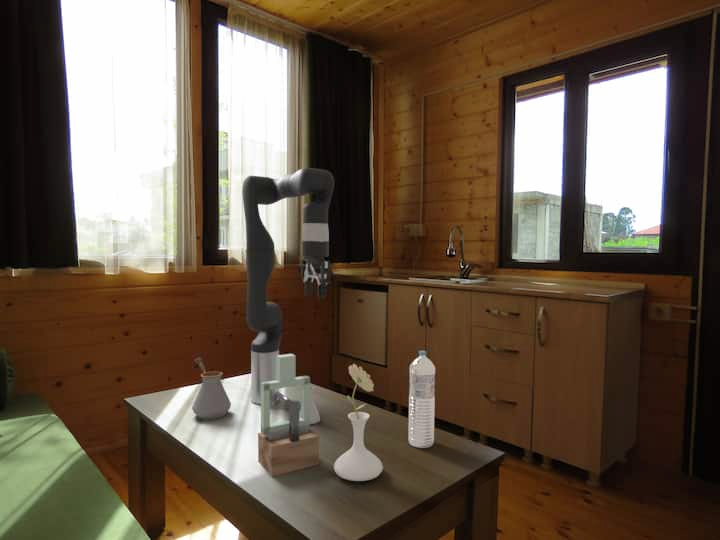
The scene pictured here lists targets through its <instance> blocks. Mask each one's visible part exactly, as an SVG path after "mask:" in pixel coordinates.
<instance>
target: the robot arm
mask: <svg viewBox="0 0 720 540" xmlns="http://www.w3.org/2000/svg"><path fill="white" fill-rule="evenodd" d="M334 188H335V178H334V176H333V174H332V173H331V172H330V171H329V170H328V169H321V168H315V167H314V168H312V167H303V168H300V169H298V170H297V171H296V172H293V173H289V174H285V175H283V176H282V177H280V179H277V178H273V177H272V178H271V177H269V176H260V175H247V176H246V177H245V178H244V179H243V181H242V191H241V193H242V202H243V204H242V205H243V210H244V211H243V212H244V219H245V232H246V234H245V235H246V236H245V237H246V247H245V248H246V268H247V270H246V271H247V276H246V277H247V295H246V308H245V310H246V311H245V312H246V313H245V318H246V324H247V325H248V328H249V329H250V330H251V331H253V332H256V333H258V334H257V336H256V337H255V338H254V339H253V340H252V342H251V343H250V345H251V346H250V357H251V358H250V363H251V364H250V365H251V367H250V369H251V371H250V375H251V377H250V378H251V381H250V382H251V384H250V385H251V387H250V389H251V391H250V394H251V395H250V397H251V398H250V399H251V400H250V401H251V402H252V403H253V404H257V405H261V382H267V381H274V380H276V355H280V345H281V344H280V343H281V341H282V338H283V337H282V336H283V335H282V333H283V313H282V309H281V308H280V305H279V304H277V303H276V302H273V301H267V293H268V292H267V290H268V286H269V282H270V281H271V280H270V279H271V277H272V274H273V271H274V269H275V264H276V255H275V254H276V251H275V250H276V249H275V242H274V239H273V238H272V236H271V234H270V233H269V231H268V230H267V228H266V226H265V225H264V223H263V221H262V219H261V216H260V209H259V205H263V206H264V205H265V206H266V205H267V206H268V205H269V206H270V205H272V204H275V203H277V202H279V201H281V200H285V199H290V198H296V197H297V198H298V197H302V196H306V195H308V194H310V195H311V194H313V195H316V198H315V199H314V201H309V202H306V203H305V204H304V205H303V209H302V219H303V220H302V230H301V231H302V232H301V255H302V257H305V258H306V259H302V260H301V266H300V268H301V269H300V270H301V271H300V279H301V280H302V281H303V283H304V295H305V296H307V297H308V296H313V295H314V294H313V293H314V292H313V291H314V289H313V286H314V285H313V284H314V283H313V281H314V279H316V282H317V299H321V300H322V299H323V300H324V299H326V297H327V285H328V284H331V281H332V279H331V261H330V260H328V261H327V260H325V258H327V257H329V256H330V255H329V254H330V253H329V252H330V250H329V247H330V246H329V245H330V243H329V241H330V239H329V238H330V235H329V234H330V233H329V232H330V231H329V207H330V204H331V200H332V196H333V192H334V190H335V189H334ZM276 391H279V392H280V388H279V389H272V390H270V401H271V399H272V397H273V395H274V393H275V392H276ZM279 400H280V398H277V399H276V401H275V403H277V402H278V401H279Z"/></svg>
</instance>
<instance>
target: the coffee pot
mask: <svg viewBox="0 0 720 540" xmlns="http://www.w3.org/2000/svg"><path fill="white" fill-rule="evenodd" d="M194 361H195V363H197V364H199V368H200V371H201V372H202V373H201V374H200V377H201V379H202V382H201V383H202V384H201V385H200V388H199V390H198V393H197V395H196V398H195V400H194V402H193V404H192V407H191V410H192V411H193V414H195V416H197V417H198V418H199V419H201V420H207V421H208V420H217V419H220V418H222V417H224V416H225V414H226V413H228V411H230V409H231V405H232V403H231V401H230V399H229V397H228V394H227V391H226V390H225V387H224V385H223V384H222V381H221V379H222V376H224V375H223V374H224V372H221V371H216V370H215V371H206V368H205V365H204V364H203V362H202V361H203V359H202V358H201V357H197V358H195V360H194Z"/></svg>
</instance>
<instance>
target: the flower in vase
mask: <svg viewBox="0 0 720 540" xmlns="http://www.w3.org/2000/svg"><path fill="white" fill-rule="evenodd" d="M348 373H349V376H351V378H352V380H353V381H354V382H355V386H354V389H353V391H352V396H350V395H347V396H346V399H345V400H347V402H348V401H349V402H350V403H351V404H352V405H353V407H354V410H355V411H354V412H350V413H349V414H348V415H347V418H348V419H349V420H350V422H351V425H352V430H353V444H352V446H351V448H350V449H348V450H347V451H346V452H344V453H343V454H340V456H339V457H338V458H337V459H336V460H335V462H334V464H333V471H334V472H335V473H336V475H337V476H339V477H340V478H341V479H344V480H347V481H351V482H352V481H353V482H365V481H370V480H374V479H375V478H377V477H379V475H381V473H382V472H383V469H384V466H383V463H382V461H381V460H380V459H379V458H378V457H377V455H375V454H374V453H372V451H370V450H368V449H367V448H366V447H365V444H364V434H365V433H364V432H365V427H366V423H367V421H368V420H369V419H370V414H369V413H368V412H363V411H358V410H360V409H362V408H363V407H365V406H366V405H368V403H367V402H365V403H364V404H361V405H359V406H358V407H356V403H355V399H354V397H355V393H356V389H357V386H358V387H359V388H361V389H362V390H363V391H366V392H374V387H375V384H374V383H373V380H372V379H371V375H370V374H369V373H367V372H366V370H363V367H362V366H359V367H358V366H357V364H355V363H353V364H352V365H349V366H348Z"/></svg>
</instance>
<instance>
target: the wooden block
mask: <svg viewBox="0 0 720 540" xmlns="http://www.w3.org/2000/svg"><path fill="white" fill-rule="evenodd" d="M257 435H258V436H257V438H258V439H257V445H258V446H257V448H258V450H257V460H258V461H257V462H260V463H261V464H260V463H259V464H260V465H261V466H262V467H263V468H265V469H266V470H267V471H268V472H269V473H268V472H267V471H266V470H265V469H264V470H265V471H266V472H267V473H268V475H269V476H270V475H271V476H273V477H275V475H277V476H280V475H284V474H287V473H291V472H296V471H299V470H303V469H306V468H310V467H315V466H318V465H319V464H320V461H319V460H320V457H319V456H320V435H318V434H317V433H316V432H315V431H313V429H311V428H309V432H305V433H301V434H299V441H297V442H291V441H289V436H287V437H282V438H278V439H273V440H269V439H268V438H267V437H266V436H265V435H264V434H263V433H262V432H261V431H260V432H258V433H257ZM271 476H270V477H271Z"/></svg>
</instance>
